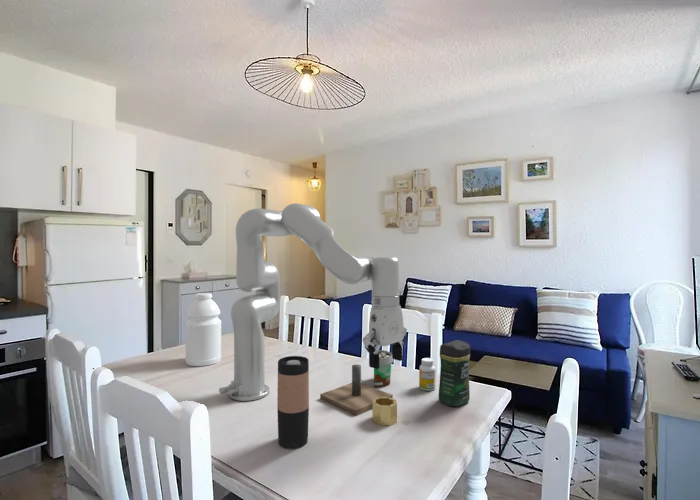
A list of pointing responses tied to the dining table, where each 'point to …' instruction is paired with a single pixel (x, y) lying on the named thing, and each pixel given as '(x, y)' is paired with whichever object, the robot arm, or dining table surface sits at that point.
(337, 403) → the post stand
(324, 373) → the dining table surface
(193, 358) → the bottle
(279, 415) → the travel mug
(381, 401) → the brass collar
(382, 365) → the food container
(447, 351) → the coffee jar
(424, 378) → the supplement bottle
